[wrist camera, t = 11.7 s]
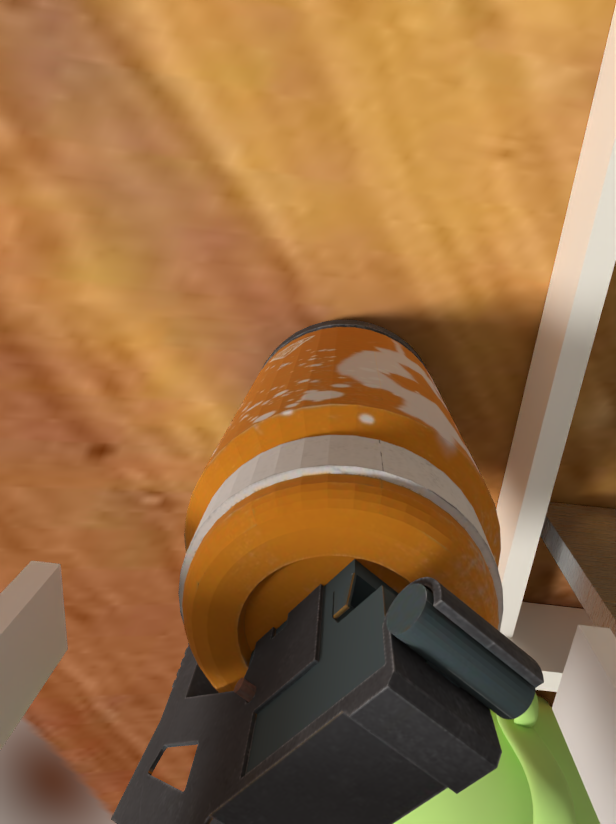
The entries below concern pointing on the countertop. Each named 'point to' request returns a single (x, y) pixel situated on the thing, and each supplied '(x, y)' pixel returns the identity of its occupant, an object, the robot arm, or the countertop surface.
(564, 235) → the white rectangular frame
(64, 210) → the countertop surface
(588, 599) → the panel
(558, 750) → the teapot
